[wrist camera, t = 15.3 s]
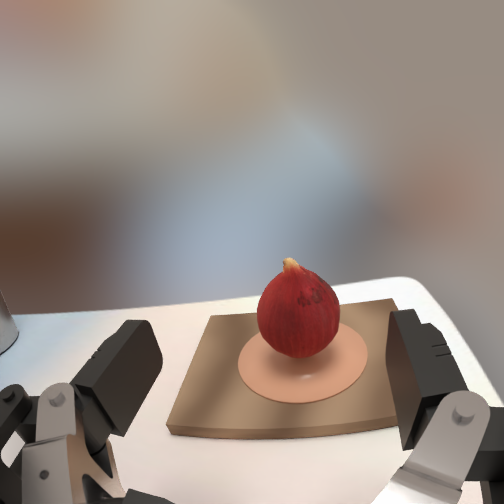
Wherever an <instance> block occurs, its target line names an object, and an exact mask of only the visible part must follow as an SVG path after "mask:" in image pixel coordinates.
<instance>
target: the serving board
mask: <svg viewBox="0 0 504 504" xmlns="http://www.w3.org/2000/svg"><path fill="white" fill-rule="evenodd" d="M339 306H340V321H339V328H338V332H337V334H336V336H335V337H334V339H333V340H332V341H331V342H330V343H329V345H328V346H327V347H326V348H325V349H323V350H322V351H320V352H319V353H317V354H315V355H313V356H311V357H307V358H292V357H289V356H287V355H284V354H282V353H279V352H277V351H276V350H274V349H273V348H272V347H271V346H270V345H269V344H268V343H267V342H266V341H265V340H264V339H263V338H262V335H261V333H260V330H259V327H258V322H257V313H246V314H231V315H214V316H210V319H209V321H208V323H207V326H206V328H205V331H204V333H203V335H202V338H201V340H200V342H199V345H198V347H197V350H196V352H195V354H194V357H193V359H192V362H191V364H190V366H189V369H188V371H187V374H186V376H185V379H184V381H183V383H182V386H181V388H180V391H179V393H178V396H177V398H176V400H175V403H174V405H173V408H172V410H171V413H170V415H169V418H168V420H167V422H166V426H167V427H168V429H169V431H170V433H171V434H173V435H183V436H194V437H207V438H227V439H284V438H304V437H318V436H329V435H338V434H347V433H355V432H362V431H369V430H375V429H381V428H387V427H392V426H397V425H398V421H397V416H396V410H395V405H394V401H393V396H392V391H391V387H390V382H389V378H388V373H387V369H386V360H385V352H386V342H387V334H388V324H389V315H390V312H391V311H399V310H398V308H397V306H396V305H395V303H394V301H393V299H392V298H390V299H383V300H375V301H368V302H360V303H351V304H343V305H339Z"/></svg>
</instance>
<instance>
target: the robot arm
mask: <svg viewBox="0 0 504 504" xmlns="http://www.w3.org/2000/svg"><path fill="white" fill-rule="evenodd" d="M17 336H18V329H17V327H16V325H15V323H14V321H13V318H12V316H11V314H10V312H9V310H8V307H7V305H6V303H5V300H4V298H3V295H2V293H1V291H0V353H2V352H3V351H5V350H6V349H7V348H8V347H9V346H10V345H11V344H12V343H13V342H14V341H15V340H16V338H17ZM385 360H386V369H387V373H388V378H389V382H390V387H391V391H392V396H393V401H394V405H395V410H396V416H397V421H398V426H399V432H400V437H401V443H402V449H403V451H405V450H411V449H414V450H413V451H412V453H411V454H410V456H409V458H408V459H407V461H406V462H405V464H404V465H403V466H402V467H400V468H399V469H398V470H397V472H396V473H395V474H394V475H393V477H392V478H391V480H390V481H389V482H388V484H387V485H386V486H385V488H384V489H383V490H382V492H381V493H380V494H379V496H378V497H377V498H376V499H375V501H374V502H373V503H372V504H457V503H458V501H459V499H460V496H461V494H462V490H461V487H462V484H463V482H464V481H480V485H481V491H482V498H483V504H504V407H490V406H489V405H488V403H487V402H486V401H485V399H484V398H483V397H481V396H480V395H478V394H477V393H474V392H471V391H469V390H468V388H467V385H466V383H465V381H464V379H463V376H462V374H461V372H460V370H459V368H458V365H457V363H456V361H455V359H454V357H453V355H451V351H450V349H449V347H448V346H447V343H446V341H445V339H444V337H443V335H442V333H441V332H440V331H439V330H438V329H437V328H436V327H434V326H433V325H432V324H431V323H426V324H421V322H420V320H419V318H418V316H417V314H416V312H415V310H414V309H408V310H399V311H391V312H390V315H389V324H388V334H387V342H386V352H385ZM162 365H163V358H162V353H161V351H160V348H159V346H158V343H157V340H156V338H155V335H154V332H153V329H152V327H151V324H150V323H149V322H148V321H147V320H126V321H125V322H124V323H123V325H122V326H121V327H120V328H119V329H118V331H117V332H116V333H115V334H113V335H112V336H110V337H109V338H107V339H106V340H105V341H104V342H103V343H102V344H101V345H100V347H99V348H98V349H97V351H95V353H94V354H93V355H92V356H91V359H89V360H88V361H87V362H86V364H85V365H84V366H83V367H82V368H81V370H80V371H79V372H78V373H77V375H76V376H75V377H74V378H73V380H72V381H71V382H70V383H69V384H68V383H57V384H54V385H52V386H50V387H48V388H47V389H46V390H45V391H44V392H43V393H42V394H41V396H28V394H27V393H26V391H25V390H24V388H23V387H22V386H21V385H19V384H13V385H10V386H7V387H6V388H4V389H3V390H2V391H1V392H0V504H174V503H172V502H170V501H168V500H166V499H165V498H161V497H157V496H153V495H150V494H146V493H143V492H139V491H136V490H133V489H128V491H127V493H125V491H124V490H123V488H122V486H121V483H120V480H119V476H118V472H117V468H116V464H115V459H114V455H113V451H112V446H111V443H110V441H109V440H108V437H109V435H110V433H111V434H114V435H118V436H122V437H124V436H125V434H126V432H127V430H128V428H129V426H130V425H131V423H132V421H133V419H134V417H135V416H136V414H137V412H138V410H139V409H140V407H141V405H142V403H143V401H144V400H145V398H146V396H147V394H148V393H149V391H150V389H151V387H152V385H153V384H154V382H155V380H156V378H157V377H158V375H159V373H160V371H161V369H162ZM14 431H16V432H17V434H18V435H19V436H20V437H21V438H22V439H23V441H24V442H25V445H24V446H23V448H22V449H21V451H20V452H19V454H18V456H17V457H16V458H15V460H14V462H13V463H12V465H11V466H10V468H8V467H7V466H6V465H5V464H4V463H3V461H2V459H1V450H2V448H3V447H4V445H5V444H6V443H7V441H8V440H9V438H10V437H11V435H12V434H13V432H14Z"/></svg>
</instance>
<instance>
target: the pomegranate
mask: <svg viewBox="0 0 504 504" xmlns="http://www.w3.org/2000/svg"><path fill="white" fill-rule="evenodd" d="M283 263H284V266H283V272H281V273H280V274H278V275H277V276H276V277H275V278H274V279H273V280H272V281H271V282H270V283H269V284H268V285H267V287H266V288H265V290H264V292H263V294H262V296H261V298H260V300H259V303H258V308H257V322H258V327H259V330H260V333H261V335H262V338H263V339H264V340H265V341H266V342H267V343H268V344H269V345H270V346H271V347H272V348H273V349H274V350H276V351H277V352H279V353H282V354H284V355H287V356H289V357H292V358H307V357H311V356H313V355H315V354H317V353H319V352H320V351H322V350H323V349H325V348H326V347H327V346H328V345H329V343H330V342H331V341H332V340H333V339H334V337H335V336H336V334H337V332H338V328H339V321H340V306H339V301H338V298H337V296H336V294H335V292H334V291H333V289H332V288H331V287H330V286H329V285H328V284H327V283H326V282H325V281H324V280H323V279H321V278H320V277H319V276H318V275H317V274H316V273H314V272H312V271H309V270H307V269H305V268H304V267H302V266H300V265H298V264H297V262H296V261H295V260H294V259H292V258H286V259H284V261H283Z"/></svg>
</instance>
